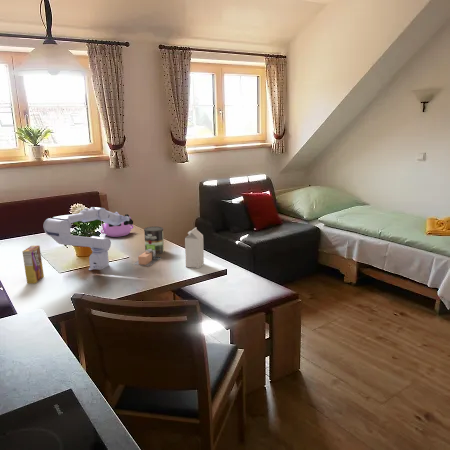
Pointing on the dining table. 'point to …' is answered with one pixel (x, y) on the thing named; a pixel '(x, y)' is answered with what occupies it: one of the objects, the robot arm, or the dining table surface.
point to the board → (149, 262)
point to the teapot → (116, 230)
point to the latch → (151, 252)
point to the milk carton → (194, 249)
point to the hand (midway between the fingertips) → (126, 223)
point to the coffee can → (154, 239)
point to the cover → (145, 258)
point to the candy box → (33, 264)
